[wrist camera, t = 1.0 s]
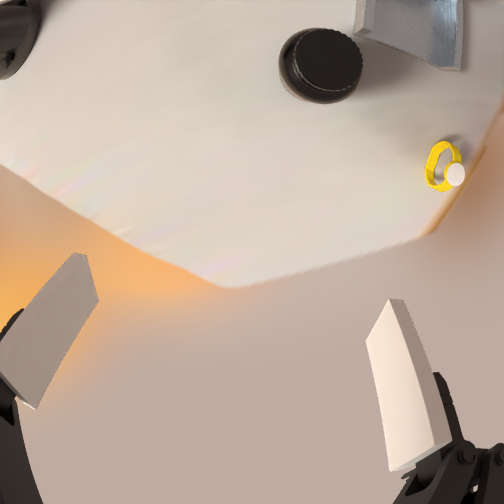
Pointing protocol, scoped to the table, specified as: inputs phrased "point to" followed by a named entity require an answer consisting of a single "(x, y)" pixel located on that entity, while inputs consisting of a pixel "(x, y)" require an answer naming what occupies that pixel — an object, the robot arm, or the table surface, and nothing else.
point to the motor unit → (415, 28)
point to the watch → (452, 171)
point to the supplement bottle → (320, 66)
